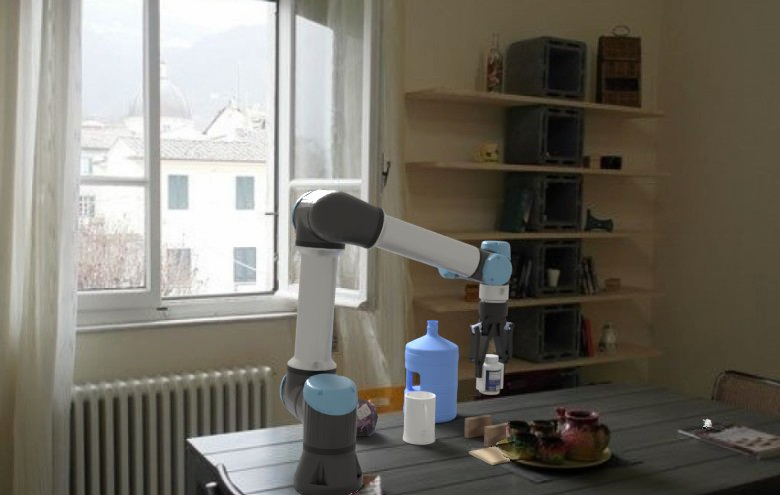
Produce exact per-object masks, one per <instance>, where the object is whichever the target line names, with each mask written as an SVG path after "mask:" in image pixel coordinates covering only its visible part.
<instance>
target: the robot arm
mask: <svg viewBox="0 0 780 495" xmlns="http://www.w3.org/2000/svg"><path fill="white" fill-rule="evenodd" d="M291 210H292V211H291V214H290V215H291V216H290V217H291V223H292V227H293V228H294V230H295V243H294V244H295V245H294V247H295V248H296V250H297V251H298V252H299V253H300V264H299V265H300V269H299V281H298V282H299V283H298V298H297V312H296V324H295V325H296V326H295V340H294V343H295V344H294V355H293V356H292V357H291V358H290V359H289V360H288V361H287V362H286V363H287V364H286V374H285V375H284V376H283V377H282V380H281V382H280V386H279V395H280V399H281V402H282V404H283V406H284V408H285V409H286V411H287V412H288V413H290V415H291V416H293V417H295V418H296V419H297V420H298V421H299V422H300V423H301V424H302V451H301V454H300V457H299V459H298V462H297V463H298V464H297V466H296V468H295V472H294V476H293V487H294V489H295V490H296V491H297V492H299V493H301V494H303V495H349V494H351V493H354V492H356V491H357V490H359V489H360V488H361V487H362V488H363V486H362V485H364V475H363V474H364V473H363V471H362V468H361V464H360V461H359V457H358V454H357V436H356V425H357V403H358V399H359V396H358V389H357V388H358V387H357V385H356V383H355V382H354V381H353V380H352V379H351V378H348V377H346V376H345V375H344V376H343V375H340V374H337V370H338V369H337V368H338V366H337V365H338V364H337V363H336V362H335V361H334V360H333V358H332V350H333V349H332V347H333V333H334V332H333V331H334V321H335V320H334V317H335V304H336V303H335V302H336V290H337V289H336V287H337V275H338V260H339V256H340V255H341V254H342V253H344V252H345V250H346V245H351V246H355V247H360V248H363V249H366V250H371V249H373V248H378V249H380V250H384V251H387V252H389V253H392V254H396V255H399V256H402V257H404V258H407V259H411V260H414V261H417V262H420V263H423V264H426V265H428V266H431V267H434V268H437V270H438V273H439V275H440V276H441V277H442V278H444V279H452V280H455V279H463V280H467V281H471V282H477V283H479V292H478V293H479V295H478V298H479V299H480V300H479V302H478V314H479V319H478V322H477V323H476V324H470V325H469V331H470V344H469V356H468V361H469V363H471V364H474V367H475V368H474V377H475V378H476V380H475V381H476V383H475V385H476V386H475V389H476V390H478V391H479V390H481V391H485V382H486V366H484V362H485V358H486V354H487V353H488V349H489V345H490V342H491V341H492V339H493V342H494V348H495V355H498V356H499V360H498V362H497V363H498V364H499V365H500V366H501V375H500V390H502V389H504V376H505V374H506V365H508V364H509V363H510V361H512V360H513V338H514V337H513V334H514V333H513V332H514V329H515V327H516V326H515V323H513V322H509V321H507V318H506V317H507V316H508V312H509V303H508V302H507V301H508V300H509V293H510V292H509V291H510V288H509V287H510V278H511V275H512V274H513V266H512V262H511V260H512V258H511V245H510V242H508V241H503V240H502V241H501V240H484V241H482V242H481V246H480V247H476V246H475V245H472V244H469V243H466V242H463V241H460V240H458V239H455V238H452V237H449V236H446V235H445V234H444V235H443V234H440V233H438V232H435V231H433V230H429V229H427V228H424V227H422V226H418V225H416V224H414V223H410V222H408V221H405V220H402V219H400V218H397V217H394V216H390V215H389V214H386V212H385V210H384V209H383V208H382V207H379V206H377V205H374V204H371V203H369V202H367V201H364V200H363V199H360V198H358V197H356V196H354V195H352V194H349V193H347V192H346V191H341V190H334V189H333V190H324V189H315V190H311V191H309V192H306V193H304V194H303V195H301V196H299V198H298V199H297V200H296V201H295V203H294V205H293V207H292V209H291ZM362 488H361V489H362ZM361 489H360V490H361ZM360 490H359V491H360ZM356 493H357V492H356ZM354 494H355V493H354ZM351 495H352V494H351Z"/></svg>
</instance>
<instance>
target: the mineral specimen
mask: <svg viewBox="0 0 780 495" xmlns="http://www.w3.org/2000/svg"><path fill="white" fill-rule="evenodd" d="M378 417H379V416H378V413H377V409H376V405H375V403H373V402H370V401H368V400H366V399H364V398H358V403H357V425H356V437H368V436H372V435H373V434H374V433H375V430H376V426H377V422H378V419H379V418H378Z"/></svg>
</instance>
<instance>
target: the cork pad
mask: <svg viewBox="0 0 780 495" xmlns="http://www.w3.org/2000/svg"><path fill="white" fill-rule="evenodd" d="M468 455H471V456H473V457H474V458H477V459H479V460H481V461H483V462H485V463H486V464H489V465H492V466H494V465H500V464H504V463H508V462H511V461H510V459H509V458H506V457H504V456H503V455H502V454H501V453H500V452H499V451H498V450H497V448H496V446H492V447H486V448H485V447H484V448H481V449H475V450H471V451H470V450H469V451H468Z"/></svg>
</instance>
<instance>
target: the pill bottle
mask: <svg viewBox="0 0 780 495" xmlns="http://www.w3.org/2000/svg"><path fill="white" fill-rule="evenodd" d="M498 360H499V356H498V355H496V354H491V353H488V354H486V358H485V362H484V366H486V382H485V391H481V390H478V391H479V393H481V394H483V395H488V396H489V395H491V396H493V395H495V396H496V395H499V394H500V392H501V391H500V390H501V389H500V375H501V366H500V365H499V364H498V363H497V362H499V361H498Z"/></svg>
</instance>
